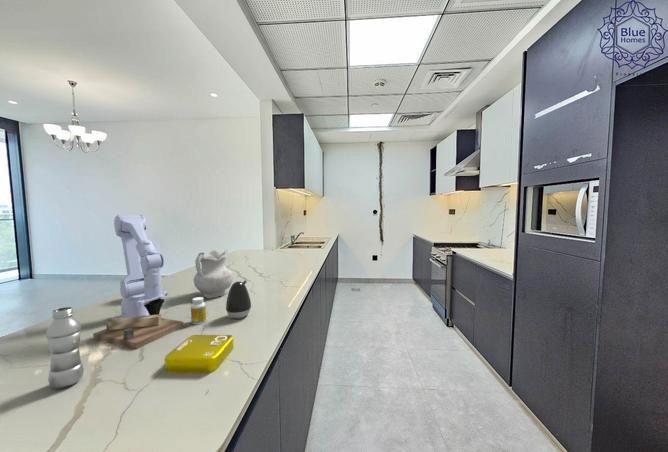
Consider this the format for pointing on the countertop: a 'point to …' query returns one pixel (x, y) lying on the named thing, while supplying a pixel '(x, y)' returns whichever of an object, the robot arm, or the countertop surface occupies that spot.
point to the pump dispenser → (238, 300)
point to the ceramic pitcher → (212, 274)
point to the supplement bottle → (198, 311)
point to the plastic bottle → (64, 349)
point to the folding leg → (132, 322)
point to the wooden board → (138, 333)
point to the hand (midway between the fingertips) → (154, 318)
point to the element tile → (199, 354)
